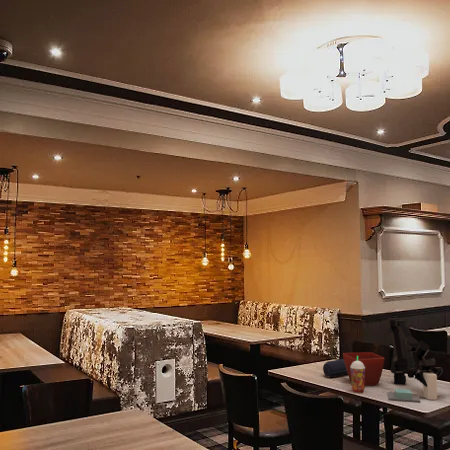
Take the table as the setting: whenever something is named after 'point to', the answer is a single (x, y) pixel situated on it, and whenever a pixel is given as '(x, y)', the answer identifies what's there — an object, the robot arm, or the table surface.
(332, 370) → the portable speaker
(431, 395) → the cream pillar
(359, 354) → the plant pot
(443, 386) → the table surface
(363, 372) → the smoothie
